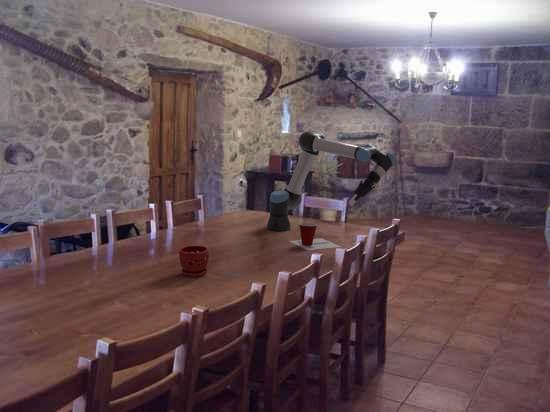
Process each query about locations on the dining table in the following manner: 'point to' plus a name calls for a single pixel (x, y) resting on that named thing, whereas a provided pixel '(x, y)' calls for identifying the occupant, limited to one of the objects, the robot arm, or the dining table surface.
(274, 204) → the robot arm
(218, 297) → the dining table surface
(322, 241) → the placemat
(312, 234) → the plastic cup
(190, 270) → the plant pot
